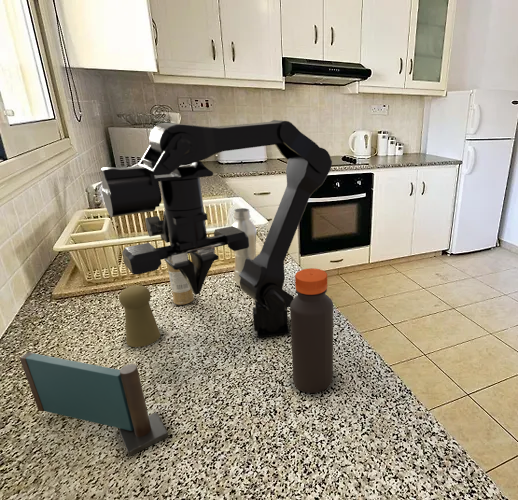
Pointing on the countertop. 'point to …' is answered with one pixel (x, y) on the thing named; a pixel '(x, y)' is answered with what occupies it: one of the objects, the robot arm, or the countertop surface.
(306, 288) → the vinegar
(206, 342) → the countertop surface
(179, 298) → the sprinkles bottle
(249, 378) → the countertop surface
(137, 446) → the hinge post
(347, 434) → the countertop surface
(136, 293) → the olive brown knobbed cone
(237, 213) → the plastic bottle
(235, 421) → the countertop surface
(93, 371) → the door
